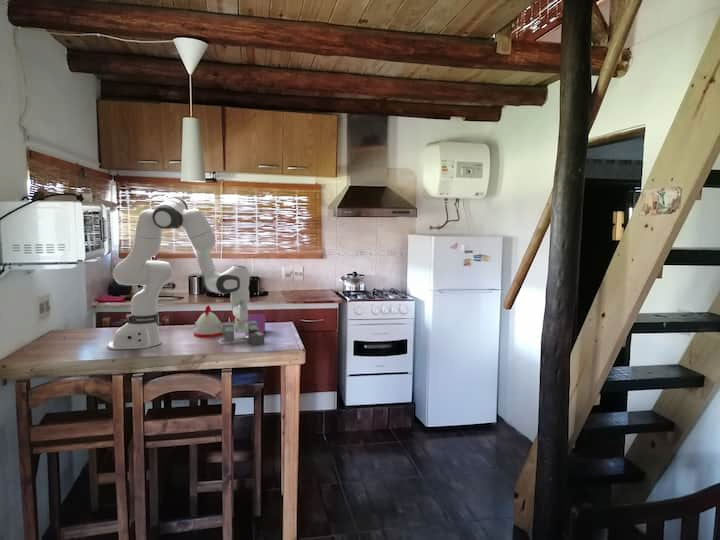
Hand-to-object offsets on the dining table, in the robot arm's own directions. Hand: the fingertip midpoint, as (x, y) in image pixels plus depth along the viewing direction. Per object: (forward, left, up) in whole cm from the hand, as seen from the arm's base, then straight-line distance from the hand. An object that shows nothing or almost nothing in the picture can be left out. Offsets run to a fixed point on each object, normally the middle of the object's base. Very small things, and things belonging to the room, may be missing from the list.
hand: (240, 327), depth 233 cm
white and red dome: (-12, +21, -7) cm, 25 cm away
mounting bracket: (+11, +13, -8) cm, 19 cm away
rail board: (0, +1, -7) cm, 7 cm away
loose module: (0, 0, -2) cm, 2 cm away
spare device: (+6, -8, -7) cm, 12 cm away
